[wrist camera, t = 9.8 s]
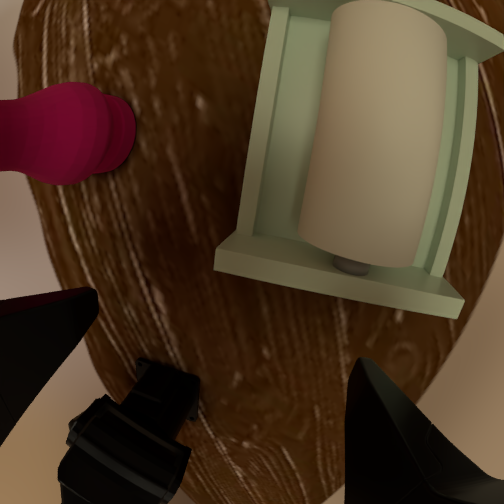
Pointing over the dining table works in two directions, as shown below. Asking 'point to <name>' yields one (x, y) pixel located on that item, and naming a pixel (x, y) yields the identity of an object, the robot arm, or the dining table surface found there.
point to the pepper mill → (65, 133)
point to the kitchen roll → (376, 134)
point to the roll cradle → (299, 155)
